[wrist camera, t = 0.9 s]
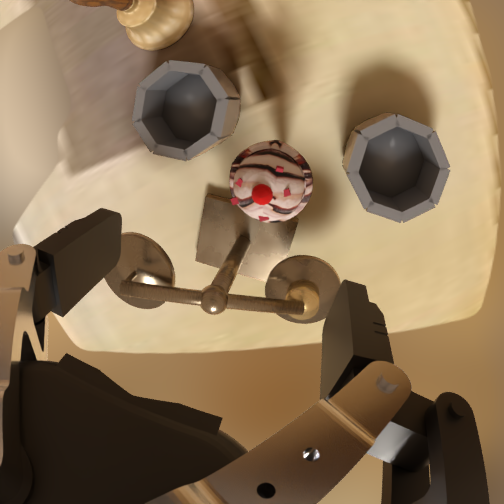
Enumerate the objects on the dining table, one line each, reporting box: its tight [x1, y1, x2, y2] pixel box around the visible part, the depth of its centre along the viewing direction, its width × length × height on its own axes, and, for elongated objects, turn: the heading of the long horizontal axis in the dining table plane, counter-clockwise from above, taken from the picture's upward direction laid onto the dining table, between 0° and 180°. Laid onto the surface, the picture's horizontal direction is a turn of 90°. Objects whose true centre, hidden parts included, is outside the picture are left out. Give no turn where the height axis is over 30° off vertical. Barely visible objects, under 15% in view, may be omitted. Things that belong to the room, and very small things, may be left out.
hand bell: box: [70, 0, 194, 50], centre depth 19 cm, size 8×8×16 cm
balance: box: [104, 194, 341, 324], centre depth 29 cm, size 8×21×15 cm, turn 77°
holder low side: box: [342, 113, 450, 223], centre depth 27 cm, size 9×9×6 cm
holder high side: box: [132, 60, 241, 161], centre depth 28 cm, size 9×9×6 cm
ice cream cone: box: [229, 140, 313, 223], centre depth 25 cm, size 6×6×15 cm
